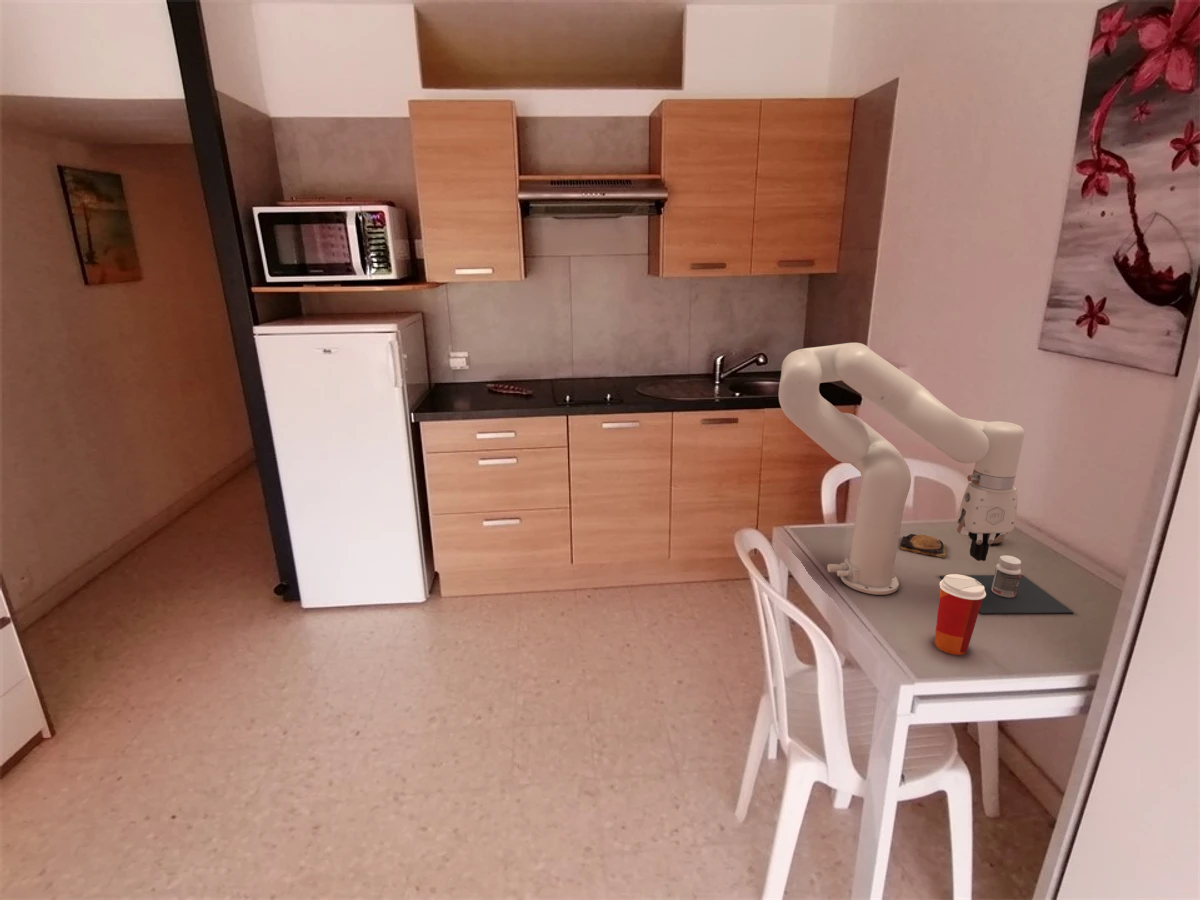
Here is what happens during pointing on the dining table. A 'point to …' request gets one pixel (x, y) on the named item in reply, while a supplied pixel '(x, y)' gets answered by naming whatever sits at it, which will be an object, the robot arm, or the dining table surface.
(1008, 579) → the pill bottle
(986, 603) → the mat
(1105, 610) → the dining table surface
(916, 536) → the bread roll
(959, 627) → the paper cup
